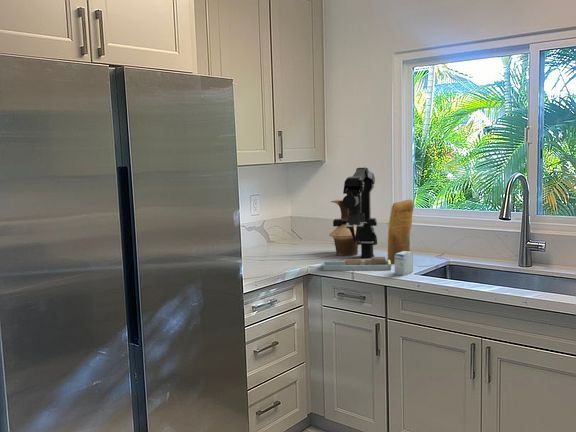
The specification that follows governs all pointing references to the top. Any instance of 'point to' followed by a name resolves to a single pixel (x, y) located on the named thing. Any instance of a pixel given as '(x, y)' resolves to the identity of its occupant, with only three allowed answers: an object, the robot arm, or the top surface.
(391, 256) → the pancake mix bag
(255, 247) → the top surface
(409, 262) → the medicine box
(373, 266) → the trap box
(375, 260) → the block
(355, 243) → the pitcher
